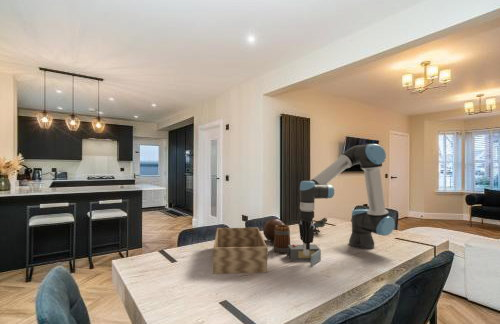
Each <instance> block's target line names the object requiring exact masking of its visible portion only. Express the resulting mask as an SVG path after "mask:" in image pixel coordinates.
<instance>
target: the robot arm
mask: <svg viewBox="0 0 500 324" xmlns="http://www.w3.org/2000/svg"><path fill="white" fill-rule="evenodd" d="M386 158H387V154H386V152H385V149H384V147H382V145H381V144H377V143H368V144H360V145H354V146H352V147H350V148H349V149H346V150H345V151H343V153H342V154H340V155H339V156H338V158H337V159H336V160H334V162H332V163H331V164H330V165H328V166H327V167H326V168H325V169H324V170H322V171H321V172H320V173H318V174H317V175H316V176H314V177H313V178H312V179H311V180H302V181H300V183H299V209H300V210H299V218H300V220H299V221H297V224H298V228H299V236H300V240H301V241H302V245H303V255H304V256H308V255H309V249H310V244H313V243H314V238H315V234H316V233H315V229H317V228H316V225H315V226H314V221H313V220H314V218H315V201H316V199H317V200H318V199H332V198H333V197H334V196H335V188H334V186H333V184H328V183H329V182H331V181H332V180H333V179H335V178H336V177H337V176H339V175H340V174H342V172H344V171H345V170H346V169H349V168H351V167H353V166H355V165H360V169H361V170H362V171H363V173H364V179H365V180H364V181H365V187H366V188H365V189H366V194H367V196H366V197H367V203H368V209H367V208H365V209H364V208H363V209H353V210H352V211H351V213H352V214H351V234H350V236H349V237H350V238H349V239H348V244H349V245H350V247H353V248H356V249H357V248H358V249H361V250H363V249H364V250H369V249H374V248H375V241H374V239H373V235H372V233H373V234H376V235H378V236H383V237H386V236H389V235H390V234H392V232H393V231H394V229H395V223H396V222H395V219H394V218H393V217H391V216H390V213H389V210H388V209H386V205H385V197H384V190H383V183H382V175H381V168H382V167H383V163H384V162H385V161H386V160H385V159H386ZM349 245H348V246H349Z"/></svg>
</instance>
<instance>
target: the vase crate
mask: <svg viewBox="0 0 500 324" xmlns="http://www.w3.org/2000/svg"><path fill="white" fill-rule="evenodd" d="M212 250H213V253H212V256H213V257H212V261H213V263H212V274H214V275H216V274H217V275H218V274H219V275H220V274H223V275H224V274H254V273H255V274H257V273H259V274H261V273H268V246H267V243H266V242H265V239H264V237H263V235H262V232H261V231H260V229H259V227H217V228H216V232H215V237H214V244H213V249H212Z"/></svg>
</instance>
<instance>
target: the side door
mask: <svg viewBox="0 0 500 324" xmlns="http://www.w3.org/2000/svg"><path fill="white" fill-rule="evenodd" d="M321 250H322V249H321V248H320V249H319V250H318V251H317V252H315V253H314V254H312V255H311V260H310V266H312V267H313V266H314V265H315V264H317V263H318V262H319V261H322V251H321Z"/></svg>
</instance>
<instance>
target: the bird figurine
mask: <svg viewBox="0 0 500 324" xmlns="http://www.w3.org/2000/svg"><path fill="white" fill-rule="evenodd" d="M327 222H328V218H327V217H322V219H320V220H317V221H315V222H313V224H314V226H315V225H316V229H315V233H314V234H316V235H318V234H319V233H321V230H319V228H324V227H325V225H326V223H327Z"/></svg>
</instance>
